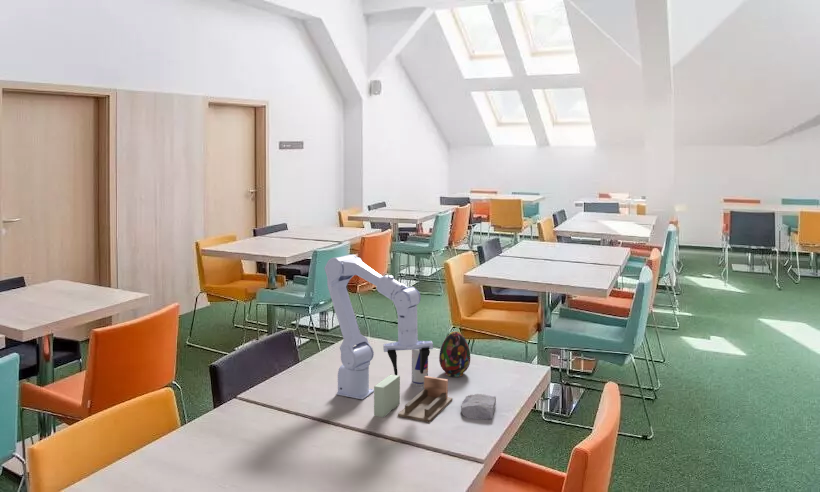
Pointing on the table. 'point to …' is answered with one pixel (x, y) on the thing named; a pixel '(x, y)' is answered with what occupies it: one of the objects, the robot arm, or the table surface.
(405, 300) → the robot arm
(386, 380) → the book
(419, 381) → the energy drink
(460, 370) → the egg
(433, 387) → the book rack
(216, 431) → the table surface
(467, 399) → the stone block
